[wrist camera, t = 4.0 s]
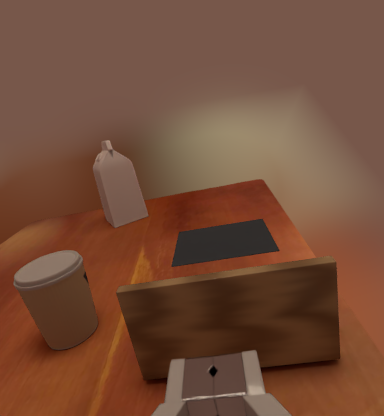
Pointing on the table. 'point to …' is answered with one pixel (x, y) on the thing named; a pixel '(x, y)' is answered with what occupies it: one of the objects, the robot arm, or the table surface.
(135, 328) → the drawer
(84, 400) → the table surface
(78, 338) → the coffee cup
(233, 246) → the mat
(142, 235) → the table surface
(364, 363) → the table surface
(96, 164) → the milk
